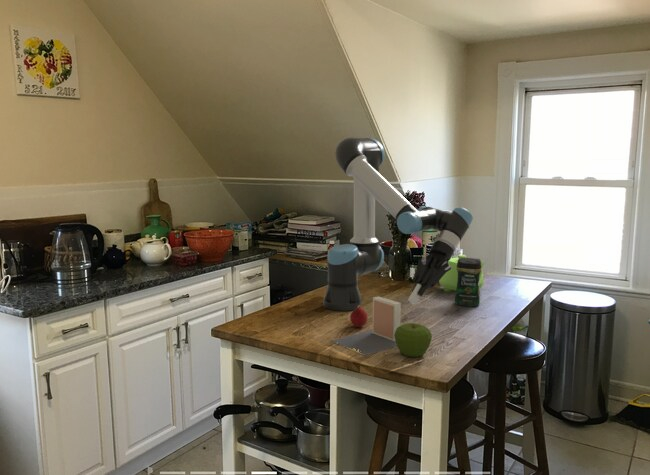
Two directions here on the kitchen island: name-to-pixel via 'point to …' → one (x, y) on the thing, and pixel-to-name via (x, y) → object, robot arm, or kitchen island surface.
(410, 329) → the apple
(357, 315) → the red pomegranate
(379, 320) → the tile
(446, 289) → the teapot
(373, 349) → the mat
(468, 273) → the coffee jar
